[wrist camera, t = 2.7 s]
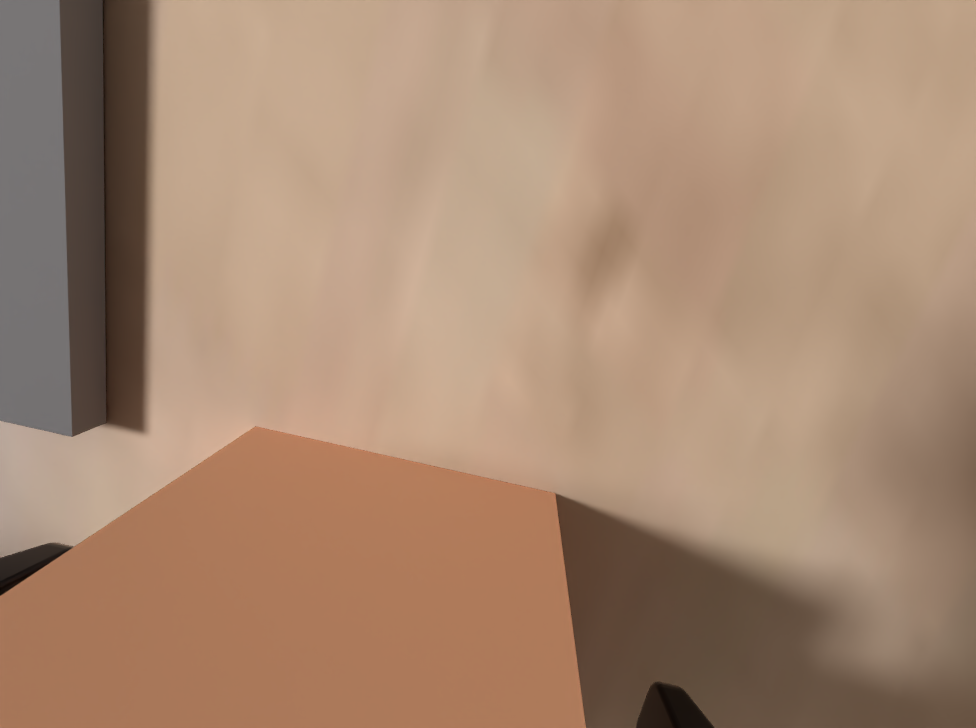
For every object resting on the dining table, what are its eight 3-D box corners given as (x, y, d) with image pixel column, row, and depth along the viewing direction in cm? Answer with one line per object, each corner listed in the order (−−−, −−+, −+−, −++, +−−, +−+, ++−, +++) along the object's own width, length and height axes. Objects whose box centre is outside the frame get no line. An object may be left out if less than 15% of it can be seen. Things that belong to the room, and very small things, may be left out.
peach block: (238, 661, 9) (-101, 1153, 4) (258, 424, 8) (-200, 728, 3) (492, 721, 9) (454, 1300, 4) (554, 490, 8) (611, 927, 3)
